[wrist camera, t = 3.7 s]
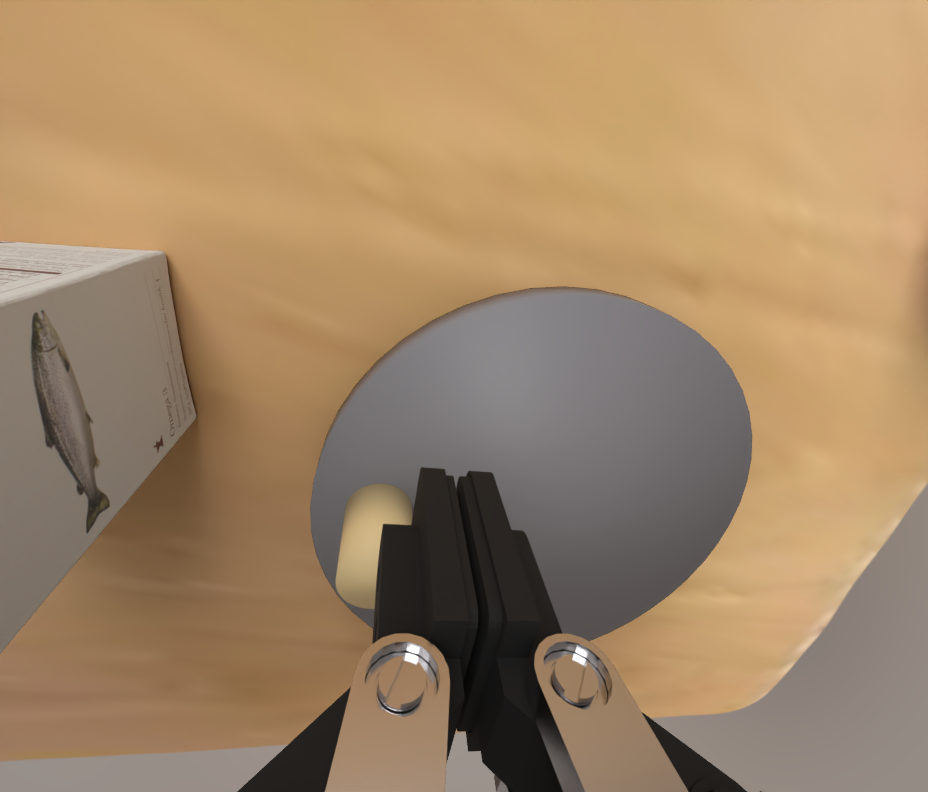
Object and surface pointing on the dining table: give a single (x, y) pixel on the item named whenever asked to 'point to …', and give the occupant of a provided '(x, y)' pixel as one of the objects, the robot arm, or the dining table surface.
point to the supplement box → (78, 404)
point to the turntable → (546, 446)
